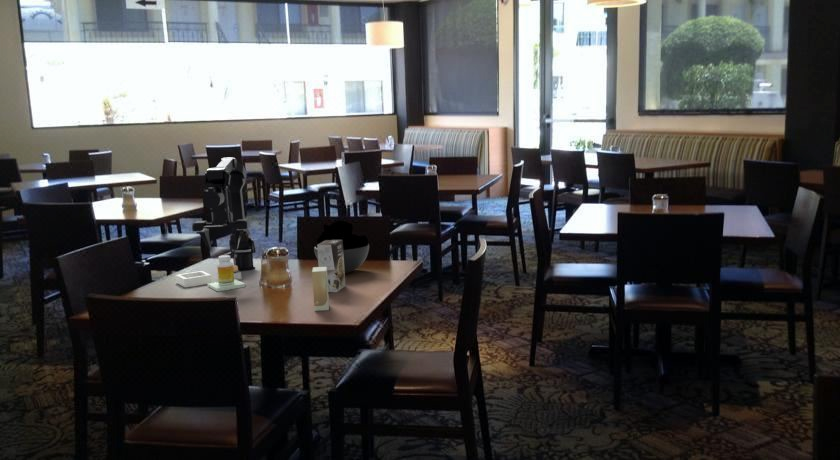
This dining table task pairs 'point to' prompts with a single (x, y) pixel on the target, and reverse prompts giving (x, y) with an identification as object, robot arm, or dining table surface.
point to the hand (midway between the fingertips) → (223, 249)
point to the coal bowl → (346, 244)
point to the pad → (226, 287)
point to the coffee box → (332, 263)
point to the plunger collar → (235, 275)
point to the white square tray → (193, 279)
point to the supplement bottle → (225, 270)
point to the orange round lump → (235, 268)
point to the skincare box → (320, 288)
